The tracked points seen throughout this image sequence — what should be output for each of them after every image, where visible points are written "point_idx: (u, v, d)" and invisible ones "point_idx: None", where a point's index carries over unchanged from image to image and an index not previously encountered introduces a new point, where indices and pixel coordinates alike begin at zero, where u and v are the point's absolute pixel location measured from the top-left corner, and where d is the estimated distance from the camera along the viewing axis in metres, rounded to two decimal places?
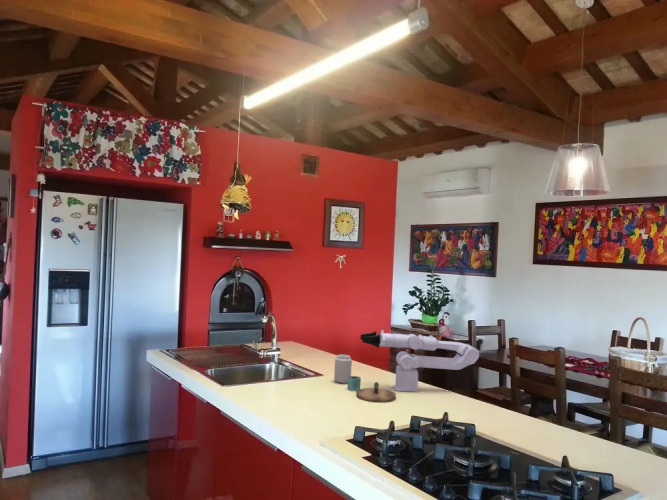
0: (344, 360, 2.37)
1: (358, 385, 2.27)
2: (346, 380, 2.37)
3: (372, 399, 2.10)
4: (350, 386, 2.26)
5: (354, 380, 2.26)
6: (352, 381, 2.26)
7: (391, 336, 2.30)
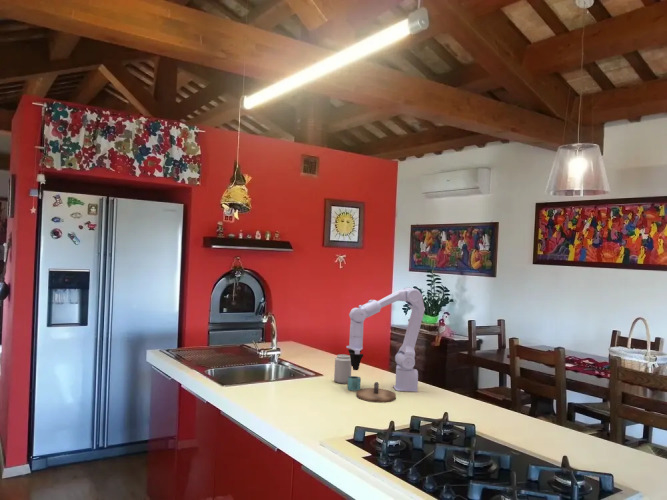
0: (344, 360, 2.37)
1: (358, 385, 2.27)
2: (346, 380, 2.37)
3: (372, 399, 2.10)
4: (350, 386, 2.26)
5: (354, 380, 2.26)
6: (352, 381, 2.26)
7: (351, 339, 2.26)
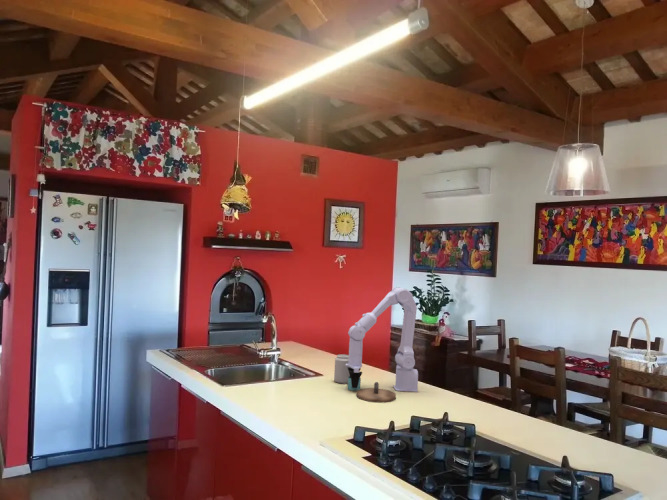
0: (344, 360, 2.37)
1: (358, 385, 2.27)
2: (346, 380, 2.37)
3: (372, 399, 2.10)
4: (350, 386, 2.26)
5: None
6: None
7: (351, 357, 2.26)
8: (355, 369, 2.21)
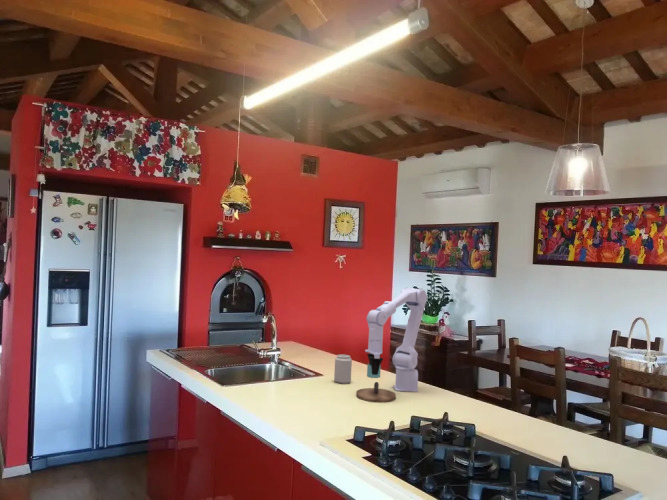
0: (344, 360, 2.37)
1: (378, 372, 2.17)
2: (346, 380, 2.37)
3: (372, 399, 2.10)
4: (370, 373, 2.17)
5: None
6: None
7: (371, 342, 2.17)
8: (376, 355, 2.12)
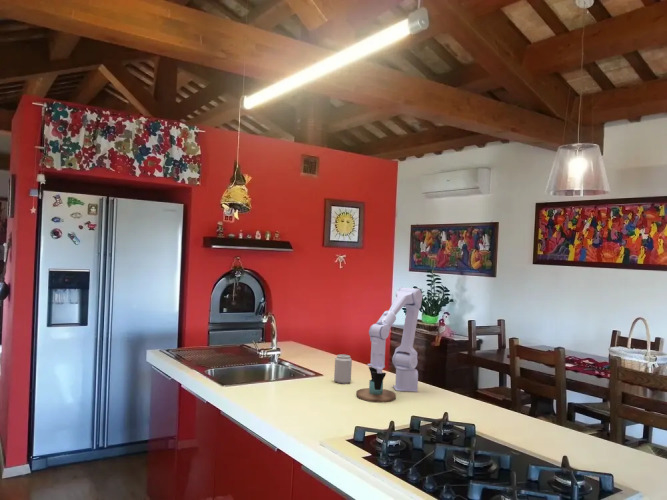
0: (344, 360, 2.37)
1: (381, 388, 2.16)
2: (346, 380, 2.37)
3: (372, 399, 2.10)
4: (372, 390, 2.16)
5: None
6: None
7: (373, 357, 2.16)
8: (378, 370, 2.11)
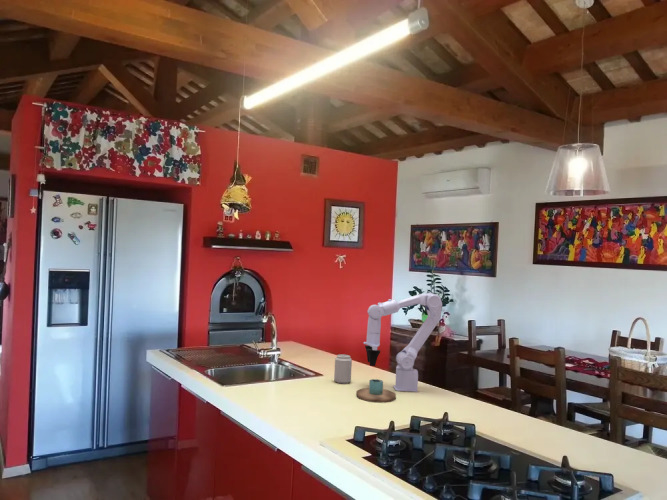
0: (344, 360, 2.37)
1: (381, 388, 2.16)
2: (346, 380, 2.37)
3: (372, 399, 2.10)
4: (372, 390, 2.16)
5: (376, 384, 2.15)
6: (374, 385, 2.15)
7: (369, 335, 2.30)
8: (373, 347, 2.25)
